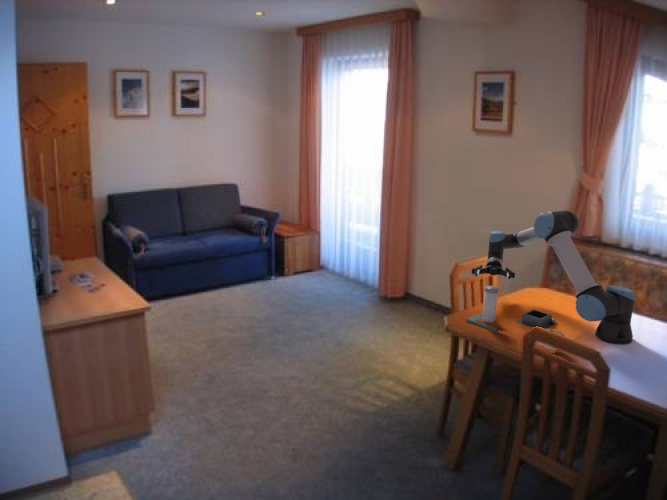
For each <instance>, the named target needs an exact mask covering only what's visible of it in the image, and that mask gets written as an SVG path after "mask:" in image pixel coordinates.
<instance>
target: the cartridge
mask: <svg viewBox="0 0 667 500" xmlns="http://www.w3.org/2000/svg"><path fill="white" fill-rule="evenodd" d="M483 292H484V295H483V303H482V304H483V305H482V311H481V313H482V318H481V322H482V321H483V323H484V322H485V323H495V322H496V316H497V305H498V295H499V287H498V286H496V285H495V286H494V285H485V286H484V291H483Z"/></svg>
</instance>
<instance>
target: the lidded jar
mask: <svg viewBox="0 0 667 500" xmlns="http://www.w3.org/2000/svg"><path fill="white" fill-rule="evenodd" d="M545 330H548V331H551V332H554V333H556V334H558V335H561V336H564V338H566V337H565V334H564V333H563V332H562V331H561V330H557V329H552V328H547V329H545ZM538 344H539V345H544V344H542V343H538V342H537V345H538ZM539 345H538V346H539ZM544 347H546V348H547V349H551V350H556V349H554V348H552V347H550V346H547V345H544Z"/></svg>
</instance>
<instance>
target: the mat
mask: <svg viewBox="0 0 667 500" xmlns="http://www.w3.org/2000/svg"><path fill="white" fill-rule="evenodd" d="M479 319H482V312H480V313H478V314H475V315H472V316H471V317H467V318H466V319H465V320H466V322H468V323H470V324H473V325H476V326H479V327H482V328H484V329H488V330H491V331H493V332H498V331H500V330H501V328H499V327H496V326H493V325H491V324H488V323H486V322H485V323H484V322H482V321H480V320H479ZM478 320H479V321H478Z"/></svg>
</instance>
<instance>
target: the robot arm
mask: <svg viewBox="0 0 667 500" xmlns="http://www.w3.org/2000/svg"><path fill="white" fill-rule="evenodd" d="M579 227H580V220H579V217H578V216H577V214H576V213H574V212H573V211H571V210H558V211H556V210H555V211H546V212H541V213H539V214H538V215H537V216H536V217H535V220H534V224H533V226H532V227H530V228H526V229H523V230H520V231H517V232H515V233H507V234H506V232H504V231H501V230H493V231H490V232H489V238H488V253H487V260H486V266H483V265H482V264H479V266H475V267H473V268H471V274H472V275H474V276H475V277H476V279H477V280H479V278H480V275H484V274H488V275H490V276H504V277H506V279H505V280H506V283H509V280H511V279H512V278H513V279H515V278H516V273H515V271H513V270H511V269H509V267H504V268H503V261H504V258H503V257H504V251H505V250H509V249H519V248H524V247H526V246H527V245H530V244H533V243H536V242H539V241H543V240H544V241H545V244H547V246H549V247H552V249H553V250H554V252H555V254H556V256H557V257H558V259H559V261H560V264H561V265H562V267H563V269H564V271H565V272H566V274H567V276H568V278H569V280H570V282H571V284H572V285H573V287H574V289H575V291H576V294H575V299H576V301H575V310H576V312H577V315H578V316H579V317H580V318H581V319H583V320H585V321H587V322H599V321H600V322H599V323H598V325H597V328H595V337H597V338H598V339H599V340H601V341H604V342H606V343H610V344H617V345H626V344H630V343H632V342H633V336H634V334H633V329H632V325H631V323H632V317H633V316H632V315H633V311H634V304H635V302H636V300H635V297H636V294H635V292H634V290H632V289H630V288H626V287H624V286H619V285H607V287H606V288H605V289H604V288H603V286H602V284H601V283H600V284H599V283H597V282H596V281H595V279H594V277H593V276H592V274H591V272H590V270H589V268H588V267H587V265H586V263H585V262H584V260H583V258H582V255H581V254H580V252H579V250H578V249H577V247H576V246H575V244H574V242H573V240H572V238H571V237H572V235H573V234H575V233H576V232H577V231H578V229H579Z"/></svg>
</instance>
